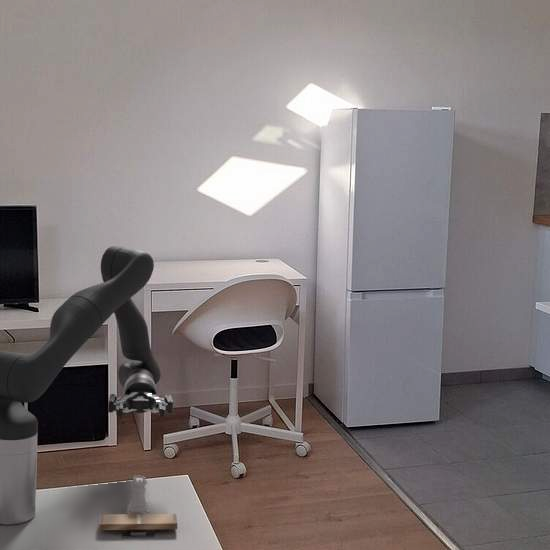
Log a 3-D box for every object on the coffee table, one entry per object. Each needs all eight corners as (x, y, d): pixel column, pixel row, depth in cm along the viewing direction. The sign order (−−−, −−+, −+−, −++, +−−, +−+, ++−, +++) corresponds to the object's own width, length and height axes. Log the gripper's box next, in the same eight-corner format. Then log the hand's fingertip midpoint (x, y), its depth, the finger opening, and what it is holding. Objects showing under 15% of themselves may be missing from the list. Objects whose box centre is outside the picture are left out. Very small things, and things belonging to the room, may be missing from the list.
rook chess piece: (149, 510, 175) (151, 474, 174) (147, 520, 171) (149, 482, 170) (128, 509, 175) (129, 473, 174) (125, 518, 171) (126, 481, 170)
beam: (99, 530, 162) (99, 524, 162) (100, 520, 167) (100, 514, 167) (177, 529, 165) (177, 523, 165) (175, 519, 170) (176, 513, 169)
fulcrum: (122, 537, 162) (122, 533, 162) (122, 522, 169) (123, 519, 169) (154, 536, 163) (154, 533, 163) (153, 522, 170) (153, 518, 170)
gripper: (109, 376, 196) (108, 396, 180) (171, 377, 198) (175, 397, 182) (108, 407, 197) (107, 430, 181) (169, 407, 199) (173, 430, 183)
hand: (141, 413), depth 182 cm, fingers open, 8 cm apart
